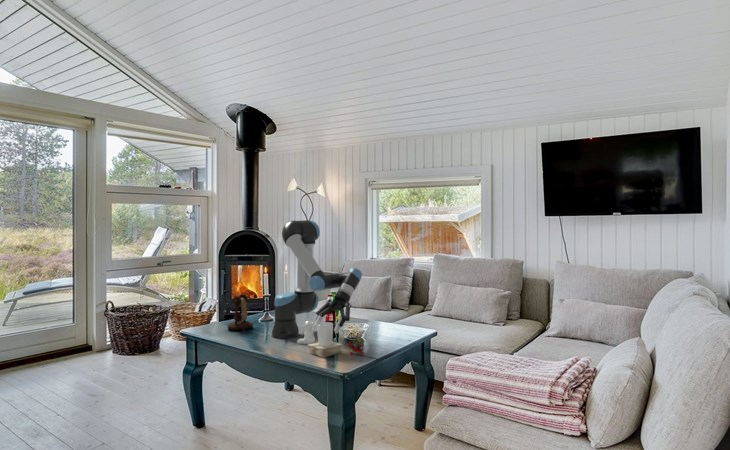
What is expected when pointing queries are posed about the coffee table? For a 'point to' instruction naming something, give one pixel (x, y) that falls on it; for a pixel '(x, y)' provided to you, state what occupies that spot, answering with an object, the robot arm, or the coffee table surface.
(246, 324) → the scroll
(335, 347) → the birch stand
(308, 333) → the sitting furry creature
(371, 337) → the coffee table surface
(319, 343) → the white cup
